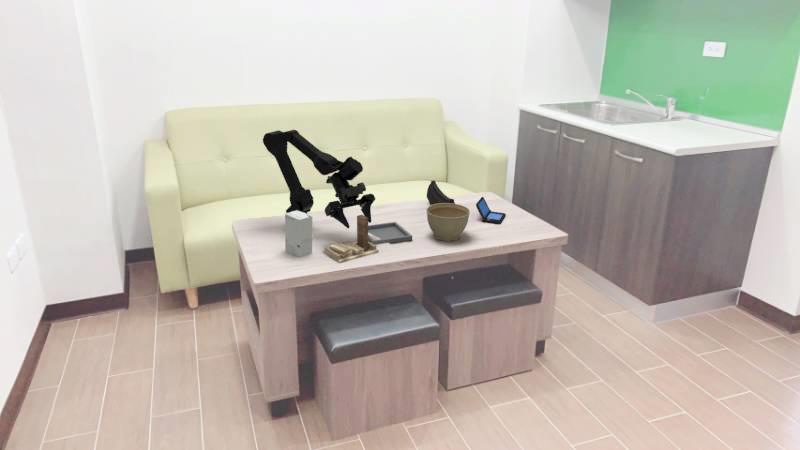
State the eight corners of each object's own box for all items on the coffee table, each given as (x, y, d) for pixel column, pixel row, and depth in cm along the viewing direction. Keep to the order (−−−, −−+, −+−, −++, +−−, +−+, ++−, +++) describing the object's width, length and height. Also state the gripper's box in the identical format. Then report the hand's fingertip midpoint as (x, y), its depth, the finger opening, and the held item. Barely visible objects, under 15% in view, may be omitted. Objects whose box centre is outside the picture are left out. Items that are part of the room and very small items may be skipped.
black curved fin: (460, 206, 228) (437, 165, 251) (452, 206, 227) (430, 166, 250) (453, 240, 239) (432, 198, 261) (446, 241, 238) (425, 199, 261)
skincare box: (285, 253, 205) (282, 213, 199) (298, 248, 209) (296, 209, 204) (300, 260, 200) (299, 219, 194) (314, 254, 204) (312, 214, 199)
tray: (372, 246, 212) (372, 241, 211) (357, 231, 225) (357, 226, 225) (412, 240, 218) (412, 235, 217) (395, 226, 231) (395, 221, 231)
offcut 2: (343, 259, 199) (343, 255, 198) (330, 253, 203) (330, 249, 203) (352, 256, 201) (352, 252, 201) (339, 250, 206) (339, 246, 205)
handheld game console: (500, 225, 235) (501, 208, 233) (474, 221, 239) (475, 204, 236) (506, 215, 246) (507, 199, 244) (481, 212, 250) (482, 195, 247)
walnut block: (363, 253, 206) (363, 219, 201) (357, 249, 209) (356, 215, 204) (368, 252, 207) (368, 217, 202) (361, 248, 210) (361, 214, 205)
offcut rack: (339, 265, 196) (339, 257, 195) (323, 254, 204) (322, 246, 203) (378, 254, 205) (378, 246, 204) (361, 244, 213) (361, 236, 212)
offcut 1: (344, 255, 198) (344, 251, 198) (330, 249, 203) (330, 245, 202) (352, 252, 201) (352, 248, 201) (338, 246, 205) (338, 242, 205)
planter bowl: (416, 236, 221) (417, 209, 218) (443, 226, 233) (444, 200, 229) (450, 248, 211) (451, 220, 207) (476, 237, 222) (478, 210, 219)
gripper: (327, 180, 199) (345, 219, 194) (372, 171, 209) (390, 209, 205) (316, 196, 207) (334, 234, 203) (360, 187, 218) (377, 223, 214)
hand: (359, 225), depth 206 cm, fingers open, 9 cm apart
